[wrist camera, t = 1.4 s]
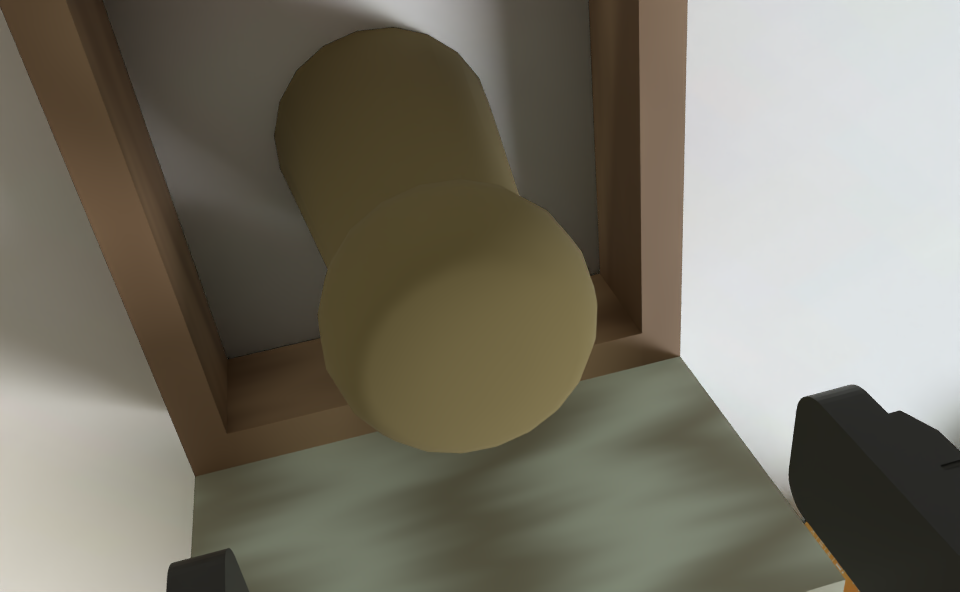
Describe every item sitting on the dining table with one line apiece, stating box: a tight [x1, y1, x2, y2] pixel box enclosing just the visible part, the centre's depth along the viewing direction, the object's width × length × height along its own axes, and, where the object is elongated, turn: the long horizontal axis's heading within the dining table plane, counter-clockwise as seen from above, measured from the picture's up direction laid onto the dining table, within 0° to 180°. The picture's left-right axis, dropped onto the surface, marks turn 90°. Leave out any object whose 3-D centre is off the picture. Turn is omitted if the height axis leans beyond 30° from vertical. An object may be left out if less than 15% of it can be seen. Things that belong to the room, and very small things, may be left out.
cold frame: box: [0, 0, 845, 592], centre depth 19 cm, size 14×15×12 cm
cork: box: [274, 27, 597, 454], centre depth 19 cm, size 6×6×11 cm
